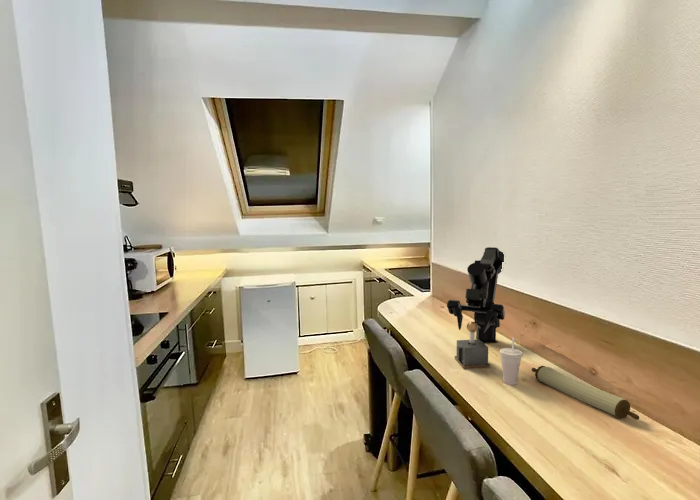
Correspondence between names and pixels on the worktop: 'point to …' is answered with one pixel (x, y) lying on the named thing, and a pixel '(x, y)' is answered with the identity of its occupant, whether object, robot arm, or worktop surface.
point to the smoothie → (510, 364)
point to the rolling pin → (585, 392)
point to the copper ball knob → (472, 331)
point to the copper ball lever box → (472, 354)
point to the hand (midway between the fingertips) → (471, 331)
